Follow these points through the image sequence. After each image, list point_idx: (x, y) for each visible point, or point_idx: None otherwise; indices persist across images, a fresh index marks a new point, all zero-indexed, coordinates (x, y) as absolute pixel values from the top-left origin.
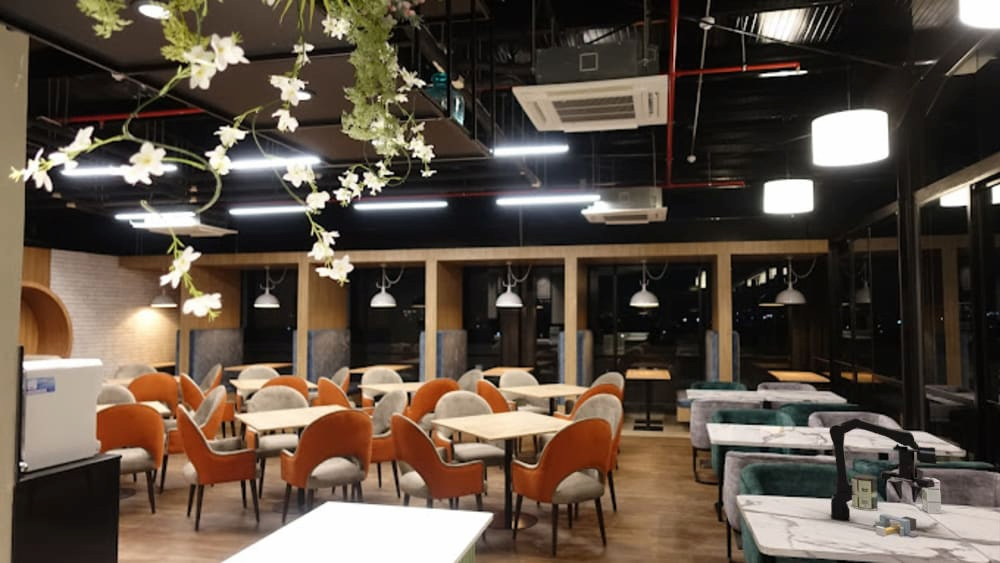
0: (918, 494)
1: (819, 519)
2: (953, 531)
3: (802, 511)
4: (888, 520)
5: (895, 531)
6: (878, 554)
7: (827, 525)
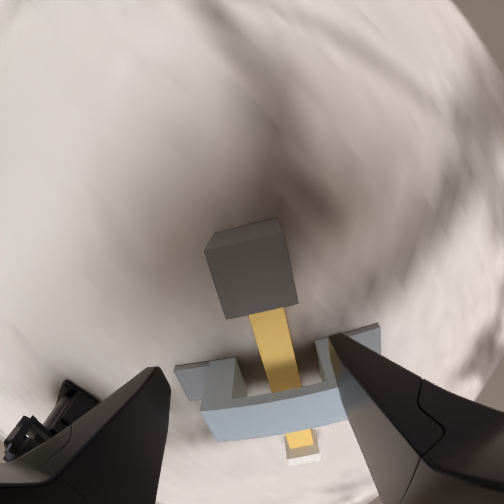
0: (420, 378)
1: None
2: (365, 45)
3: None
4: (237, 396)
5: (301, 386)
6: None
7: (169, 478)
